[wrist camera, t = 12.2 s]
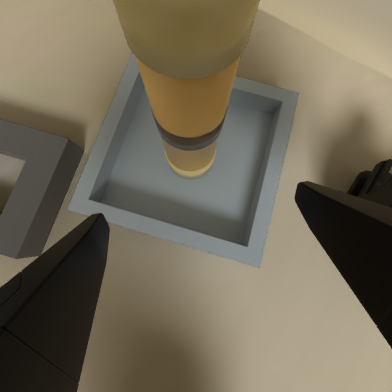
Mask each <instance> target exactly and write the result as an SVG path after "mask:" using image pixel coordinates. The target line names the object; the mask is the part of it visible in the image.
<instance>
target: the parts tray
mask: <svg viewBox="0 0 392 392" xmlns="http://www.w3.org/2000/svg"><path fill="white" fill-rule="evenodd" d="M298 96H299V93H297V92H293V91H290V90H286V89H282V88H279V87H275V86H271V85H268V84H264V83H260V82H256V81H253V80H249V79H245V78H242V77H238V76H235V80H234V83H233V87H232V91H231V94H230V98H229V102H228V108H227V113H226V116H225V120H224V124H223V127H222V130H221V133H220V135H219V139H218V142H217V146H216V155H215V158H214V162H213V165H212V167H211V169H210V170H209V171H208V172H207V173H206V174H205V175H204V176H202V177H200V178H197V179H185V178H182V177H179V176H178V175H176V174H175V173H174V172H173V171H172V170H171V168H170V166H169V164H168V161H167V158H166V155H165V150H164V145H163V142H162V139H161V136H160V134H159V131H158V129H157V126H156V123H155V120H154V117H153V114H152V110H151V105H150V102H149V99H148V96H147V92H146V89H145V86H144V83H143V80H142V77H141V74H140V71H139V68H138V65H137V62H136V59H135V55H134V54H133V52H132V54H131V56H130V59H129V61H128V64H127V66H126V69H125V71H124V73H123V76H122V78H121V81H120V83H119V86H118V88H117V90H116V93H115V95H114V98H113V100H112V102H111V105H110V107H109V110H108V112H107V115H106V117H105V119H104V122H103V124H102V127H101V129H100V132H99V134H98V136H97V139H96V141H95V144H94V146H93V149H92V151H91V153H90V156H89V158H88V161H87V163H86V165H85V168H84V170H83V173H82V175H81V178H80V180H79V182H78V185H77V187H76V190H75V192H74V195H73V197H72V199H71V202H70V204H69V207H68V209H67V210H69V211H72V212H76V213H79V214H82V215H86V216H91V215H92V214H95V213H103V214H104V216H105V218H106V221H107V222H109V223H112V224H115V225H119V226H122V227H125V228H129V229H132V230H135V231H139V232H142V233H145V234H148V235H152V236H155V237H158V238H162V239H165V240H168V241H172V242H175V243H178V244H182V245H185V246H188V247H191V248H195V249H198V250H201V251H205V252H208V253H211V254H215V255H218V256H221V257H225V258H228V259H231V260H235V261H238V262H241V263H244V264H248V265H251V266H254V267H258V268H260V264H261V259H262V255H263V250H264V246H265V242H266V237H267V233H268V228H269V224H270V220H271V215H272V211H273V206H274V202H275V197H276V193H277V189H278V184H279V180H280V175H281V171H282V167H283V162H284V158H285V153H286V149H287V145H288V140H289V136H290V131H291V127H292V123H293V118H294V114H295V109H296V105H297V100H298Z"/></svg>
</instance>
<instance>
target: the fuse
mask: <svg viewBox="0 0 392 392" xmlns="http://www.w3.org/2000/svg"><path fill="white" fill-rule="evenodd" d="M259 1H260V0H113V3H114V6H115V8H116V11H117V14H118V17H119V20H120V23H121V26H122V29H123V32H124V35H125V38H126V41H127V43H128V45H129V47H130V49H131V51H132V52H133V54H134V55H135V59H136V62H137V65H138V68H139V71H140V74H141V77H142V80H143V83H144V86H145V89H146V92H147V96H148V99H149V102H150V105H151V110H152V114H153V117H154V120H155V123H156V126H157V129H158V131H159V134H160V136H161V139H162V142H163V145H164V150H165V155H166V158H167V161H168V164H169V166H170V168H171V170H172V171H173V172H174V173H175V174H176V175H178V176H179V177H182V178H185V179H197V178H200V177H202V176H204V175H205V174H206V173H207V172H208V171H209V170H210V169H211V167H212V165H213V162H214V158H215V155H216V146H217V142H218V139H219V135H220V133H221V130H222V127H223V124H224V120H225V116H226V113H227V108H228V102H229V98H230V94H231V91H232V87H233V83H234V80H235V76H236V72H237V69H238V65H239V61H240V57H241V54H242V52H243V51H244V49H245V47H246V45H247V43H248V40H249V36H250V33H251V29H252V26H253V22H254V19H255V15H256V12H257V8H258V5H259Z"/></svg>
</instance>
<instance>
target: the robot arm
mask: <svg viewBox="0 0 392 392" xmlns="http://www.w3.org/2000/svg"><path fill="white" fill-rule="evenodd" d="M295 202H296V204H297V206H298V208H299V209H300V211H301V213H302V215H303V217H304V219H305V221H306V223H307V224H308V226H309V228H310V229H311V231H312V233H313V234H314V235H315V237H316V238H317V240H318V241H319V243H320V244H321V246H322V247H323V249H324V250H325V251H326V253H327V254H328V256H329V257H330V259H331V260H332V262H333V263H334V265H335V266H336V268H337V269H338V270H339V272H340V273H341V275H342V276H343V278H344V279H345V281H346V282H347V284H348V285H349V287H350V288H351V289H352V291H353V292H354V294H355V295H356V297H357V298H358V300H359V301H360V303H361V304H362V306H363V307H364V308H365V310H366V311H367V313H368V314H369V316H370V317H371V319H372V320H373V322H374V323H375V324H376V325H377V328H378V329H379V331H380V332H381V334H382V335H383V336H384V338H385V339H386V341H387V342H388V344H389V345H390V347H391V348H392V208H390V207H386V206H383V205H380V204H377V203H374V202H371V201H368V200H365V199H362V198H359V197H355V196H352V195H349V194H346V193H343V192H340V191H337V190H334V189H331V188H328V187H325V186H321V185H318V184H315V183H312V182H309V181H305V182H300V183H298V185H297V189H296V194H295ZM109 233H110V228H109V225H108V223H107V221H106V218H105V216H104V214H103V213H95V214H92V215H91V216H89V217H88V218H87V219H86V220H84V221H83V222H82V223H81V224H79V225H78V226H77V227H76V228H74V229H73V230H72V231H71V232H69V233H68V234H67V235H66V236H64V237H63V238H62V239H61V240H59V241H58V242H57V243H56V244H54V245H53V246H52V247H51V248H49V249H48V250H47V251H46V252H44V253H43V254H42V255H41V256H39V257H38V258H37V259H36V260H34V261H33V262H32V263H31V264H29V265H28V266H27V267H26V268H24V269H23V270H22V271H21V272H19V273H18V274H17V275H16V276H14V277H13V278H12V279H11V280H9V281H8V282H7V283H5V284H4V285H3V286H2V287H0V392H77V389H78V385H79V384H78V383H79V380H80V375H81V371H82V367H83V362H84V358H85V353H86V349H87V345H88V340H89V336H90V332H91V327H92V323H93V319H94V314H95V310H96V306H97V301H98V297H99V292H100V288H101V284H102V279H103V275H104V271H105V266H106V261H107V253H108V243H109Z"/></svg>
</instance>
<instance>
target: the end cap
mask: <svg viewBox="0 0 392 392" xmlns="http://www.w3.org/2000/svg"><path fill="white" fill-rule="evenodd" d="M391 167H392V160H391V159H389V160H386V161H382V162H380V163H378V164H376V165H375V167H374V169H373V171H372V172H371V171H364V172H361V173H360V174H359V175H358V176H357V178H356V179H355V181H354V183H353V184H352V186H351V188H350V190H349V191H348V193H347V194H349V195H352V196H355V197H359V198H362V199H365V200H368V201H371V202H374V203H377V204H380V205H383V206H386V207H390V208H392V174H390V173H389V171H390V169H391Z"/></svg>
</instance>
